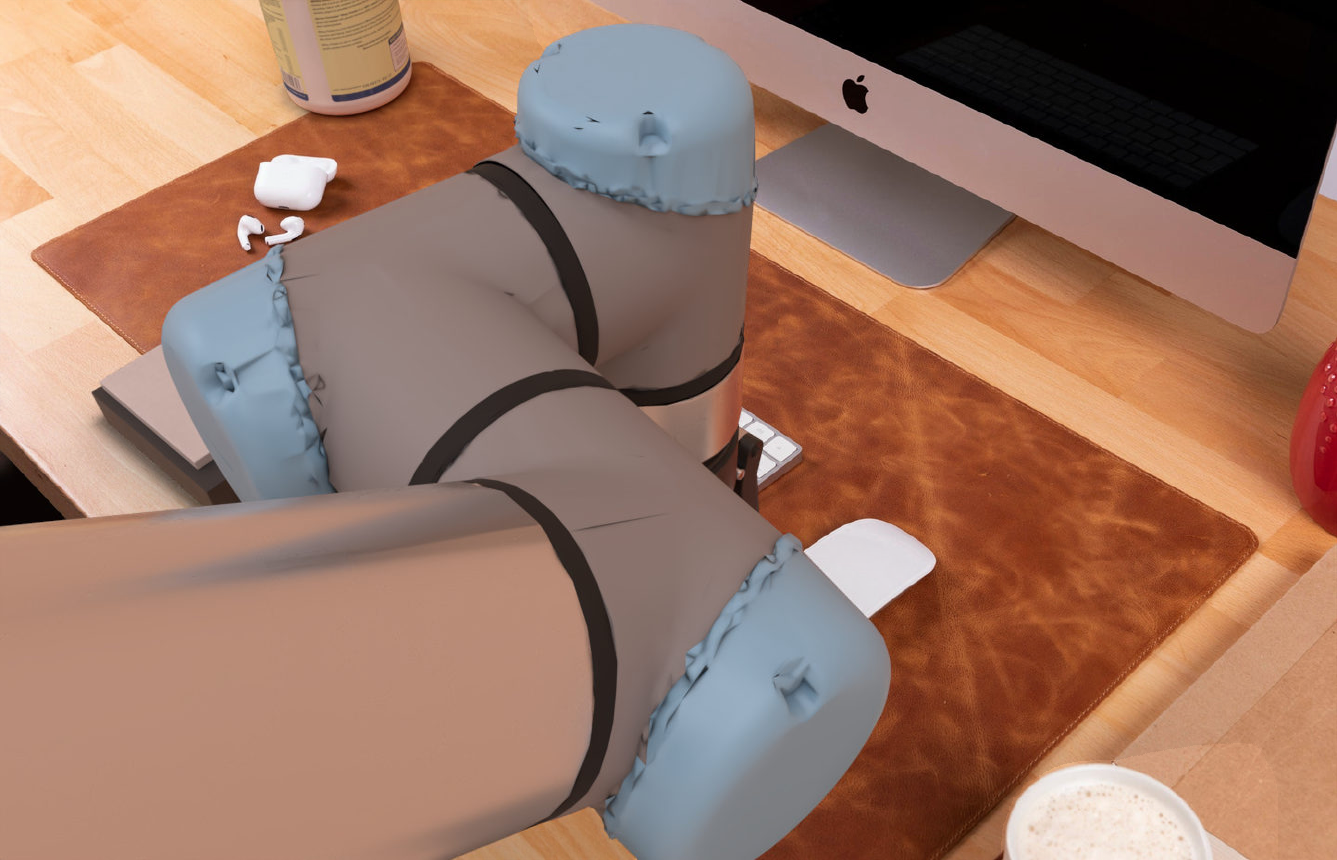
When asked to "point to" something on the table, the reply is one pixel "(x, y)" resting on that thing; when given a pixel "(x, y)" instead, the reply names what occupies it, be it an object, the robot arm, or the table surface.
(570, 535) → the robot arm
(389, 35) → the supplement tub
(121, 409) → the scale
